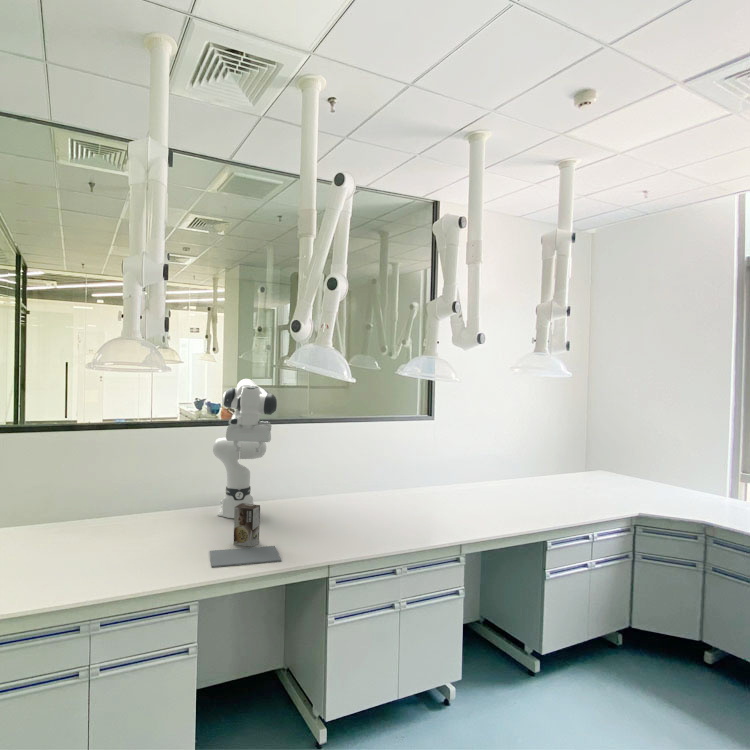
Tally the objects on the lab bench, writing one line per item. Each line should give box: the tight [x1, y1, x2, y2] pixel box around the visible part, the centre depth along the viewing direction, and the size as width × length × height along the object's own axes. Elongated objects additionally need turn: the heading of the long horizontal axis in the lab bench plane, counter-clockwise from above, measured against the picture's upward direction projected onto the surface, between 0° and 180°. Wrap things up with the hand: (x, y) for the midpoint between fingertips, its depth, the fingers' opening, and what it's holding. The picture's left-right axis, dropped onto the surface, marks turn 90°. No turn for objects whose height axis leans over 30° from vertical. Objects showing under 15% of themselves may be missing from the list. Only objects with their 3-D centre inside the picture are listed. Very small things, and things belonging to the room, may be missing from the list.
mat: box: [209, 545, 282, 568], centre depth 204 cm, size 16×26×1 cm, turn 110°
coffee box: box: [233, 503, 261, 548], centre depth 219 cm, size 9×6×16 cm
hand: (247, 451), depth 233 cm, fingers open, 8 cm apart
